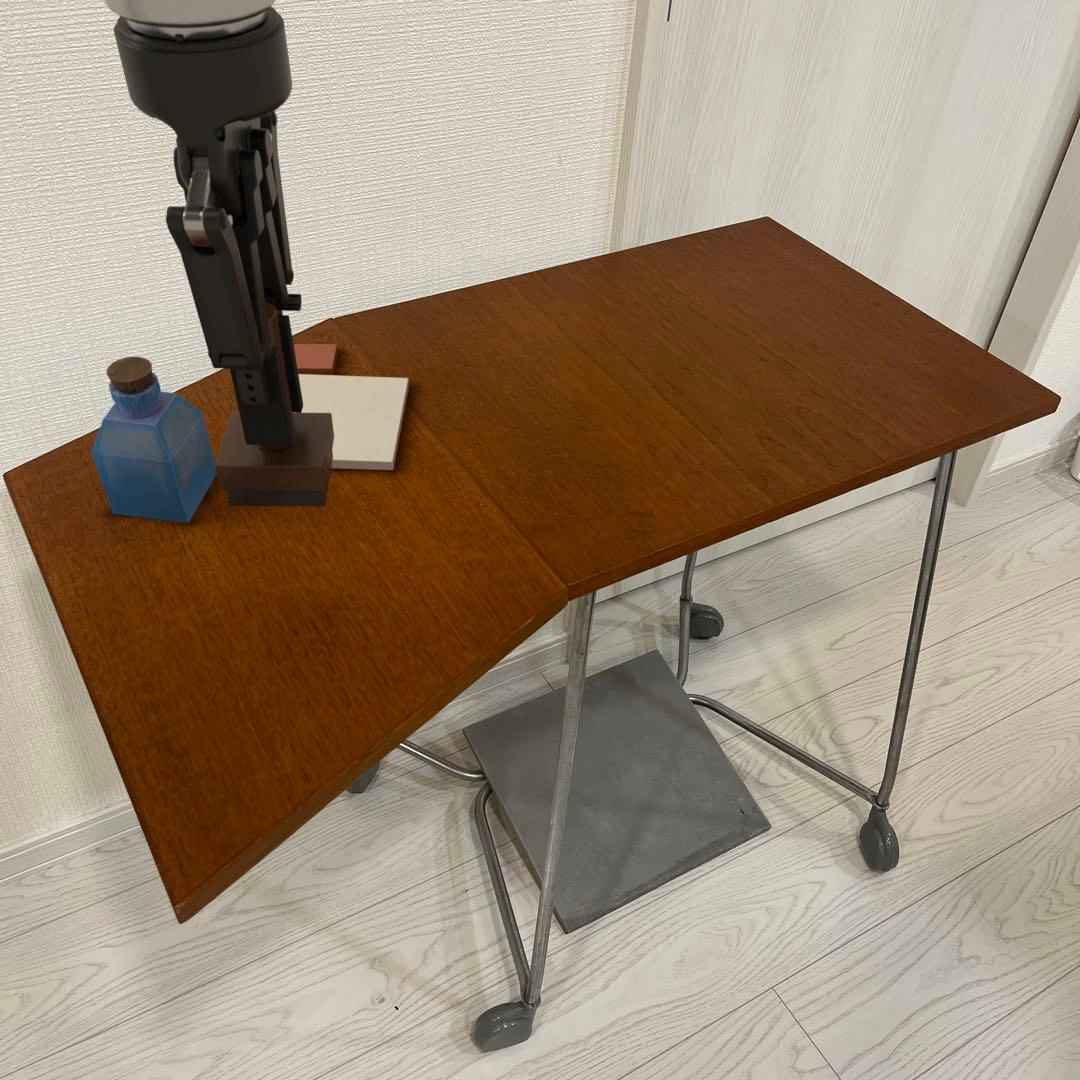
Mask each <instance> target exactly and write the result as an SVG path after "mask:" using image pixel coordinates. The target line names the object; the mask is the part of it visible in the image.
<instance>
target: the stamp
mask: <svg viewBox="0 0 1080 1080" xmlns="http://www.w3.org/2000/svg"><path fill="white" fill-rule="evenodd" d="M265 305H266V312H267V320H268V327H269V334H270V341H271V345H272V347H278V351H279V357H280V363H281V368H282V374H283V380H284V386H285V391H286V397H287V403H288V408H289V414H290V420H291V426H292V431H293V437H294V439H293V442H292V446H277V445H246V441H245V436H244V432H243V427H242V423H241V418H240V413H239V411H230V413H229V416H228V420H227V423H226V427H225V429H224V433H223V437H222V439H221V444H220V447H219V451H218V454H217V458H216V460H215V469H216V473H217V475H216V477H217V483H218V486H219V490H220V491H224V492H225V496H226V501H227V505H228V506H229V507H321V508H322V507H325V506H326V501H327V496H328V490H329V484H330V478H331V472H332V468H331V466H332V460H333V451H332V448H333V442H334V430H333V422H332V414H331V413H293V412H292V406H291V400H290V393H289V387H288V381H287V374H286V368H285V362H284V355H283V349H282V343H281V336H280V330H279V324H278V317H277V311H276V308H275V307H274V306H273V305H272V304H271V303H268V302H266V301H265Z"/></svg>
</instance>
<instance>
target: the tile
mask: <svg viewBox="0 0 1080 1080" xmlns="http://www.w3.org/2000/svg"><path fill="white" fill-rule="evenodd" d="M298 375H299V381H300V387H301V393H302V400H303V409H302V412H301V413H331V414H332V422H333V430H334V442H333V448H332V451H333V460H332V466H331V469H338V470H339V469H340V470H341V469H342V470H372V471H394V469H395V464H396V459H397V453H398V448H399V442H400V438H401V432H402V427H403V421H404V417H405V416H404V415H405V410H406V405H407V400H408V394H409V389H410V381H409V379H410V378H408V377H391V376H390V377H389V376H386V377H385V376H363V375H360V376H359V375H339V374H337V375H335V374H334V375H310V374H298ZM293 413H296V412H293Z"/></svg>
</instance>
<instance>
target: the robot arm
mask: <svg viewBox="0 0 1080 1080" xmlns="http://www.w3.org/2000/svg"><path fill="white" fill-rule="evenodd" d="M276 2H277V0H104V3H105V4H106V6H107V7H108V9H109V11H111V12H113V13H114V14H116V15H117V16H118V19H117V21H116V23H115V24H114V26H113V34H114V38H115V43H116V46H117V49H118V50H117V51H118V54H119V59H120V62H121V66H122V71H123V74H124V75H123V76H124V79H125V84H126V87H127V91H128V96H129V97H130V100H131V102H132V104H133V105H134V106H135V107H136V109H138V110H139V111H140V112H142V113H143V114H144V115H146V116H148V117H150V118H152V119H156V120H158V121H160V122H161V123H164V124H165V125H167V126H168V127H169V128H171V129H172V130H173V131H174V134H175V135H176V139H175V143H176V147H174V149H173V165H174V166H173V167H174V171H175V176H176V177H175V178H176V181H177V184H178V185H179V186H180V187H181V188H182V190H183V193H184V200H185V206H176V205H175V206H173V205H169V206H167V209H166V213H165V223H166V227H167V229H168V232H169V234H170V235H171V237H172V240H173V241H174V244H175V245H176V247H177V249H178V251H179V253H180V256H181V260H182V264H183V267H184V271H185V274H186V277H187V282H188V285H189V288H190V291H191V295H192V299H193V302H194V305H195V309H196V313H197V316H198V320H199V323H200V327H201V330H202V334H203V338H204V340H205V344H206V348H207V351H208V352H207V356H208V358H209V359H210V362H211V366H212V367H213V369H221V370H222V369H224V370H226V369H227V370H229V372H230V376H231V380H232V381H231V382H232V385H233V390H234V395H235V400H236V403H237V409H238V412H239V413H240V418H241V423H242V427H243V432H244V436H245V441H246V445H277V446H292V442H293V439H294V437H293V431H292V426H291V420H290V414H289V408H288V403H287V397H286V391H285V386H284V380H283V374H282V368H281V363H280V357H279V351H278V347H272V345H271V341H270V334H269V327H268V320H267V312H266V305H265V301H266V302H268V303H271V304H272V305H273V306H274V307H275V308H276V311H277V317H278V324H279V330H280V336H281V343H282V349H283V355H284V362H285V368H286V374H287V381H288V387H289V393H290V400H291V406H292V412H296V413H301V412H302V409H303V400H302V393H301V387H300V381H299V375H298V369H297V363H296V356H295V350H294V344H295V343H294V339H293V331H292V325H291V319H290V315H288V314H287V315H286V314H283V311H284V312H300V311H301V310H302V304H303V303H302V302H303V301H302V293H301V294H300V293H289V291H288V286H292V284H293V281H294V279H295V278H294V277H295V273H294V270H293V265H292V256H291V247H290V240H289V232H288V225H287V215H286V208H285V207H286V206H285V200H284V192H283V183H282V176H281V175H282V174H281V167H280V166H281V165H280V159H279V149H278V148H279V147H278V121H279V120H278V115H277V113H276V110H278V109H279V108H281V107H282V106H283V105H284V104H285V103H286V102H287V101H288V99H289V97H290V96H291V93H292V90H293V79H292V73H291V72H292V71H291V65H290V64H291V63H290V55H289V50H288V43H287V42H288V41H287V34H286V26H285V21H284V18H283V16H282V15H281V14H279V13H278V11H277V10H276V8H274V7H273V5H274V4H275V3H276Z"/></svg>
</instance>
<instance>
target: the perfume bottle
mask: <svg viewBox="0 0 1080 1080" xmlns="http://www.w3.org/2000/svg"><path fill="white" fill-rule="evenodd" d="M106 376H107V377H108V379H109V380H110V381H109V384H108V390H109V393H110V396H111V399H112V401H113V402H114V404H113V405H112V406H111V408H110V409H109V410H108V412H107V413H106V414H105V416H104V417H103V419H102V421H101V424H100V426H99V430H98V433H97V435H96V438H95V442H94V444H93V446H92V450H91V456H92V459H93V462H94V465H95V467H96V470H97V474H98V476H99V478H100V481H101V484H102V487H103V491H104V493H105V495H106V498H107V501H108V504H109V507H110V509H111V512H112V515H120V516H125V517H127V516H128V517H133V518H134V517H135V518H143V519H151V520H159V521H167V522H177V523H184V524H189V523H190V522H191V520H192V518H193V516H194V514H195V513H196V511H197V510H198V508H199V506H200V505H201V503H202V501H203V499H204V497H205V496H206V494H207V491H208V490H209V488H210V487H211V485H212V483H213V482H214V479H215V478H216V477H217V473H216V469H215V464H216V460H215V457H214V452H213V448H212V444H211V440H210V436H209V433H208V428H207V425H206V424H207V423H206V421H205V416H204V413H203V411H201V410H199V409H198V407H196V406H194V405H193V404H192V403H191V402H189V401H188V400H186V399H185V398H184V397H182V396H181V395H180V394H178V393H176V392H168V391H161V384H160V382H159V378H158V376H157V374H156V373H155V372H153V364H152V362H151V361H150V360H149V359H147V358H146V357H142V356H126V357H123V358H119V359H117V360H115V361H113V362H111V364H110V365H108V367H107V368H106Z"/></svg>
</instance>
